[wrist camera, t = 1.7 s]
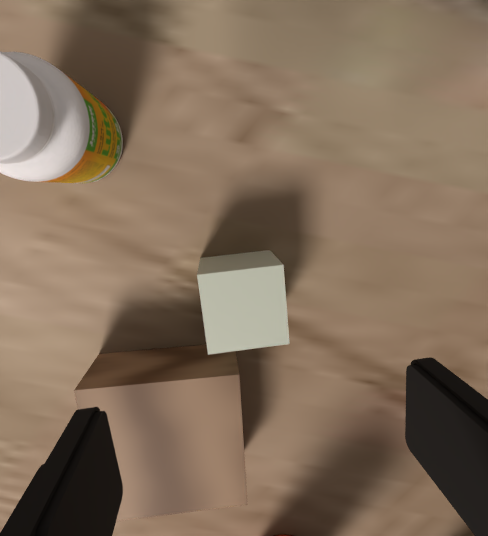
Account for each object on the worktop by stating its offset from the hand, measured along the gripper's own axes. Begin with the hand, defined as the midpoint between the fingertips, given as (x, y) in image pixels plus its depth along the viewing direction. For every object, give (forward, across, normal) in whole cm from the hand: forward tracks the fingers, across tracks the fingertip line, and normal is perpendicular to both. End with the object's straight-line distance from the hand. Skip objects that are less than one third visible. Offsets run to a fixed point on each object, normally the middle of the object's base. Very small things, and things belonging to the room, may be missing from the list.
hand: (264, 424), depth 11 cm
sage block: (+15, 0, 0) cm, 15 cm away
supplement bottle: (+15, +8, -11) cm, 21 cm away
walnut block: (+15, +6, +9) cm, 19 cm away
